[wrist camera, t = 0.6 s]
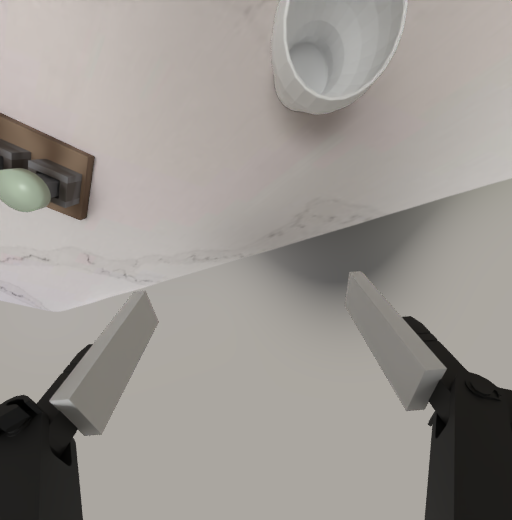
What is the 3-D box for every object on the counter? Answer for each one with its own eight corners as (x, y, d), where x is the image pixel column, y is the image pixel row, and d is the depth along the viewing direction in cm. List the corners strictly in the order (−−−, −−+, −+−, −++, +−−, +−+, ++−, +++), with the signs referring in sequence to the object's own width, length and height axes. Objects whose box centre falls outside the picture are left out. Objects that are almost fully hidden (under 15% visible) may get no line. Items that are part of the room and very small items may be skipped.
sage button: (30, 192, 32) (-8, 201, 27) (30, 158, 30) (-10, 161, 25) (68, 208, 33) (39, 218, 29) (71, 176, 31) (40, 182, 26)
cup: (306, 138, 33) (344, 135, 20) (249, 91, 30) (248, 49, 17) (356, 64, 29) (446, -3, 16) (295, 0, 26) (344, -150, 13)
